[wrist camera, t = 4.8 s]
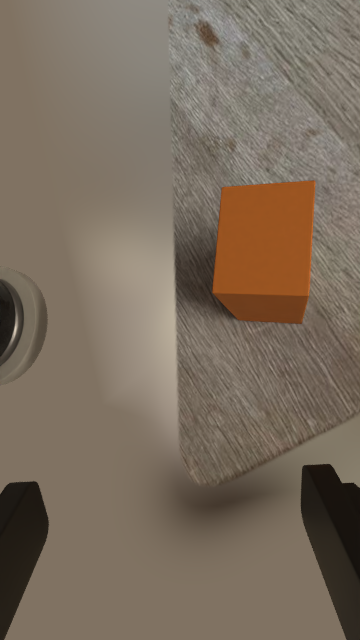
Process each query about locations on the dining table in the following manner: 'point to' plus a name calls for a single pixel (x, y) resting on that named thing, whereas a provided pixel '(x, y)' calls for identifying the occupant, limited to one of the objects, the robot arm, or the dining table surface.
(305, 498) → the robot arm
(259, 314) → the block
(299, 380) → the dining table surface
